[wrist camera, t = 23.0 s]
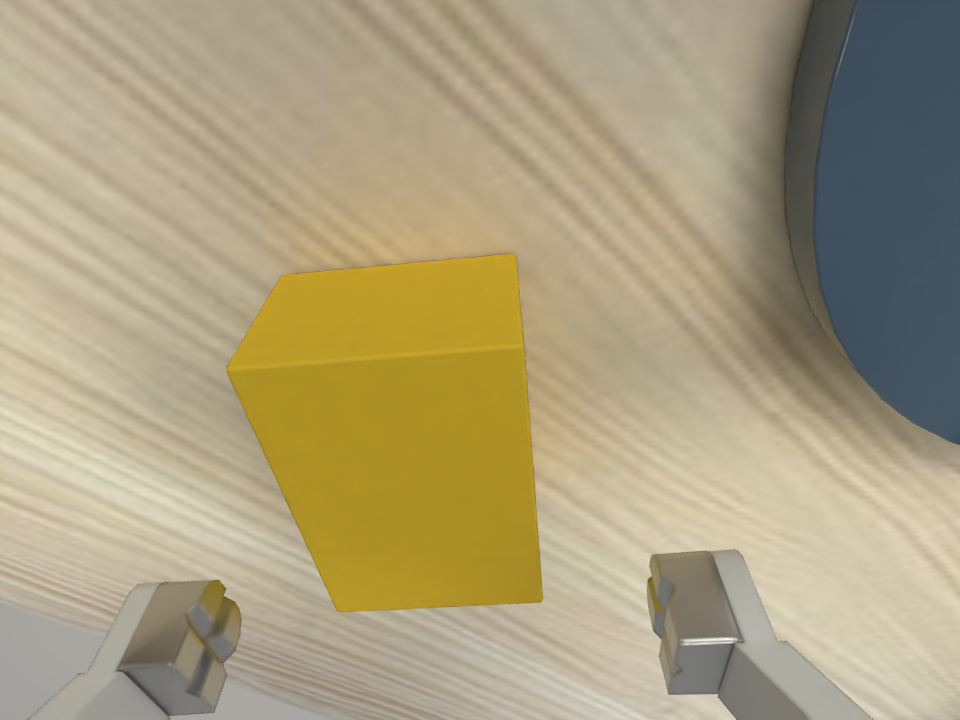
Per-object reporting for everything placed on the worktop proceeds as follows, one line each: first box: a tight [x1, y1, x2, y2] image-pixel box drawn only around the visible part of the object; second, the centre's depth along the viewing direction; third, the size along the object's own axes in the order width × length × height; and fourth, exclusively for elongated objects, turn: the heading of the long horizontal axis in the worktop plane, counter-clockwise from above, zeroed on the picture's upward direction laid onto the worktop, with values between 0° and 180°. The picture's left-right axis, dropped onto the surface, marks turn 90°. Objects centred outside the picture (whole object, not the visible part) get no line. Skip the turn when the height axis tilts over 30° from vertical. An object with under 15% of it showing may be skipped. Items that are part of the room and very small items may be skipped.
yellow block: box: [226, 254, 543, 612], centre depth 16 cm, size 9×6×4 cm, turn 6°
